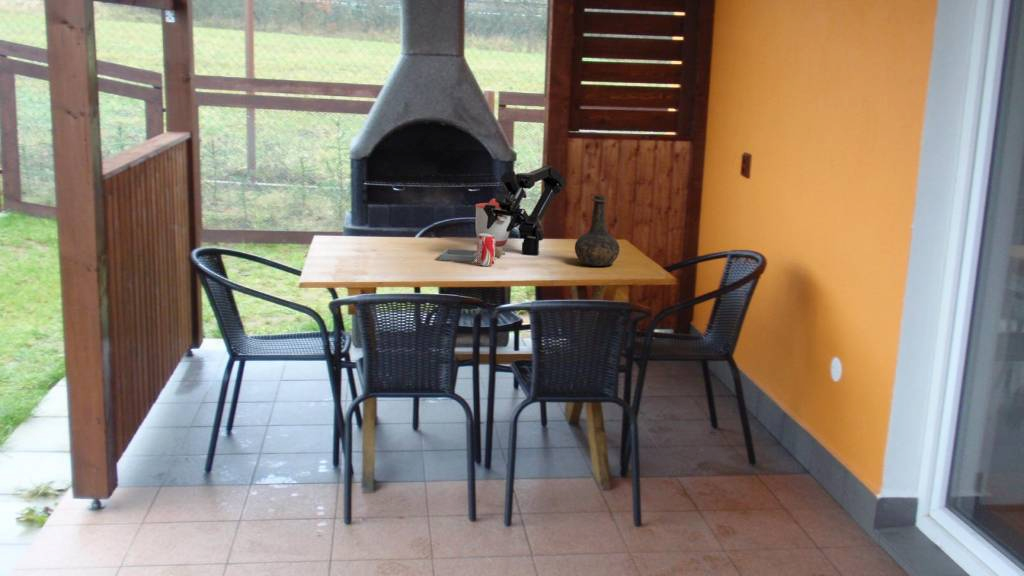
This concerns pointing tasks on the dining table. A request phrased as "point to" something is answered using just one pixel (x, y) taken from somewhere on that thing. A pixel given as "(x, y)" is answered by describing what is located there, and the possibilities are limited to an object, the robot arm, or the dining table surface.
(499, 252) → the brown block with knob
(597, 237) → the glass bottle
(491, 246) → the soda can
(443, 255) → the slate tray
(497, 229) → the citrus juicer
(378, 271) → the dining table surface
